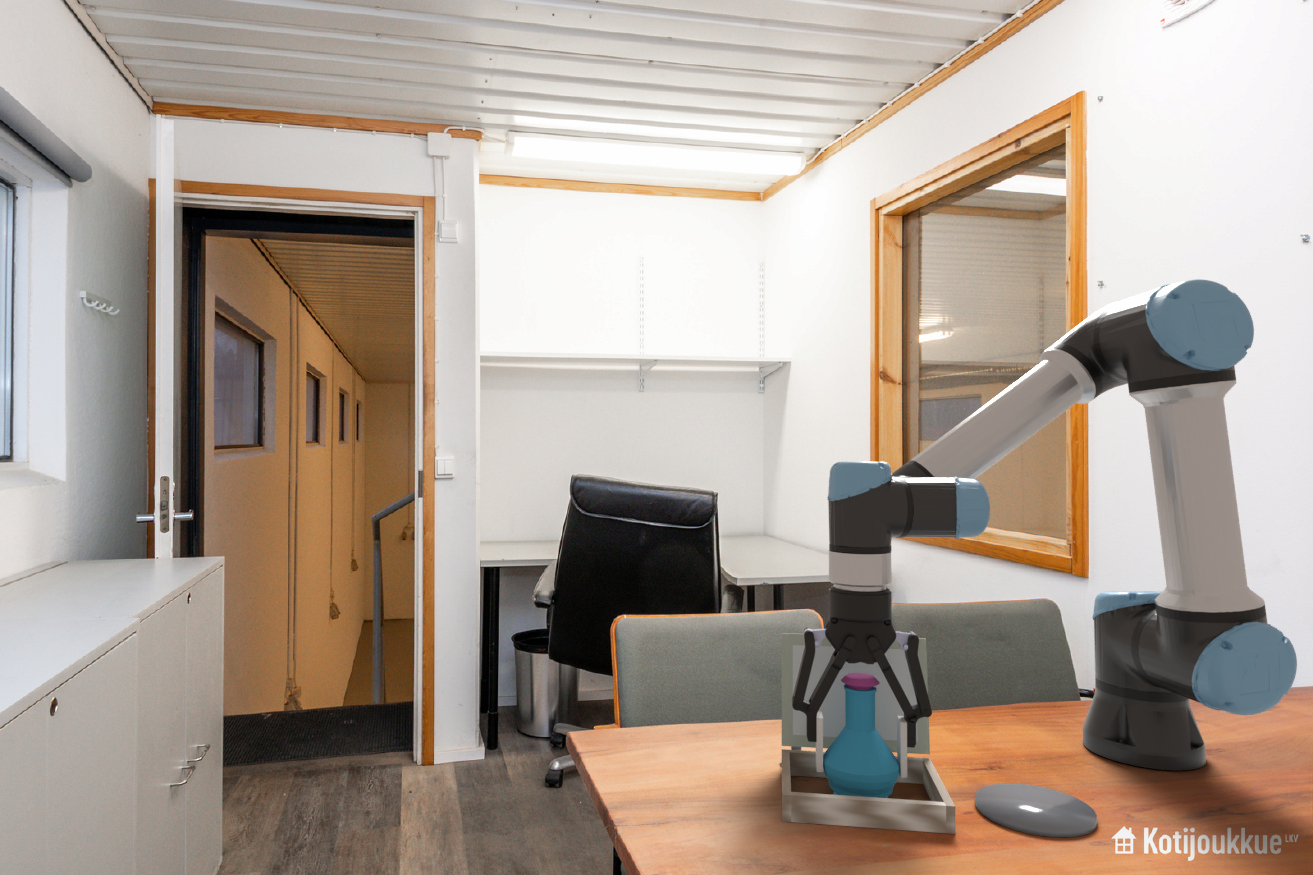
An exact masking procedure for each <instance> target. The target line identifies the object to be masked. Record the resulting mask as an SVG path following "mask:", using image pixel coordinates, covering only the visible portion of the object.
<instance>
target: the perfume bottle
mask: <svg viewBox="0 0 1313 875" xmlns="http://www.w3.org/2000/svg"><path fill="white" fill-rule="evenodd" d="M841 681H842V682H843V683H845V685H844V689H845V716H846V726H845V727H844V728H843V730H842V731H841V732H840V734H839V735H838V736H837V738H836V739H835V740H834V742H833V743H832V744H831V745H830V746H829V748H826V751H824V752H825V753H824V755H823V768H824V771H825V774H826V777H827V778H826V779H827V780H828V786H829V788H830V789H831V791H832V790H833V794H832V795H846V796H861V797H876V798H889V796H891V795H892V794H893V792H894V786H895V785H896V783H897V782H896V781H897V779H898V775H899V768H900V764H899V762H898V760H897V759H896V757H895V756H896V755H895V753H894V752H892V751H891V750H890V749H889V747H888V746H887V745H886V743H885V742H884V740H883V739H882V737H881V736H880V734H879V733H878V731H877V730H876V728H875V692H876V691H877V688H876V687H875V686H876V685H879V684H880V682H879V681H878V680H877V679H876V678H875V677H874V676H873V675H870V674H866V673H848V674H846V675H845V676H844V677H843V678H842V679H841Z"/></svg>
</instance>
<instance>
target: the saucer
mask: <svg viewBox="0 0 1313 875" xmlns="http://www.w3.org/2000/svg"><path fill="white" fill-rule="evenodd" d="M974 805H975V808H976V809H977V811H978V813H980V814H982V816H984V817H986V818H987V819H989V820H990V821H992V822H994V823H996V824H998V825H1000V826H1002V827H1005V828H1008V829H1011V830H1015V831H1018V832H1020V833H1024V834H1025V833H1026V834H1030V835H1036V836H1042V837H1050V838H1074V837H1075V838H1076V837H1081V836H1086V835H1088V834H1090V833H1092V832H1093V831H1095V829H1097V826H1098V821H1097V820H1098V819H1097V817H1098V816H1097V813H1096V811H1095V809H1093V807H1092V806H1090V805H1089V804H1087V803H1086V802H1085V801H1083V800H1081V799H1079V798H1077V797H1076V796H1073V795H1071V794H1068V793H1065V792H1062V791H1059V790H1056V789H1052V788H1049V787H1044V786H1038V785H1033V784H1025V783H1017V782H1016V783H1012V782H1011V783H1009V782H1007V783H1006V782H1004V783H1002V782H1001V783H994V784H989V785H986V786H983V787H981V788H979V789H978V790H977V791H976V792H975V795H974Z"/></svg>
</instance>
